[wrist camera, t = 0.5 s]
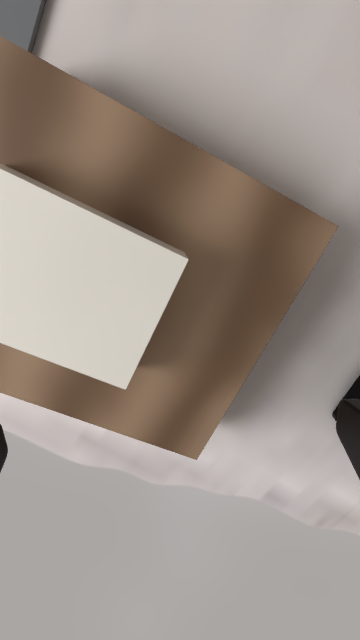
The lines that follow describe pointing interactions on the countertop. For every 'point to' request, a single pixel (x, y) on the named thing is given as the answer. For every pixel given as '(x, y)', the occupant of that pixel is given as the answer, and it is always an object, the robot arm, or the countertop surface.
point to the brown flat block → (171, 228)
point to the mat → (20, 21)
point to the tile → (78, 281)
